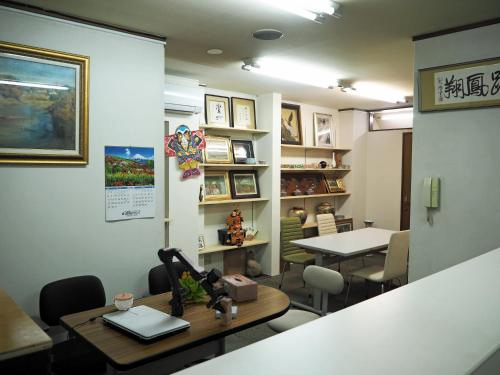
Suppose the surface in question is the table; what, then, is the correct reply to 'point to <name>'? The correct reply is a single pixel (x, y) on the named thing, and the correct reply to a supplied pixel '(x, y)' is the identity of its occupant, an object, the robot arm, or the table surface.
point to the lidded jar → (123, 301)
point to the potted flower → (192, 289)
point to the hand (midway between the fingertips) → (228, 311)
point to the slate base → (234, 312)
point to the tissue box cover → (240, 287)
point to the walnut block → (227, 305)
